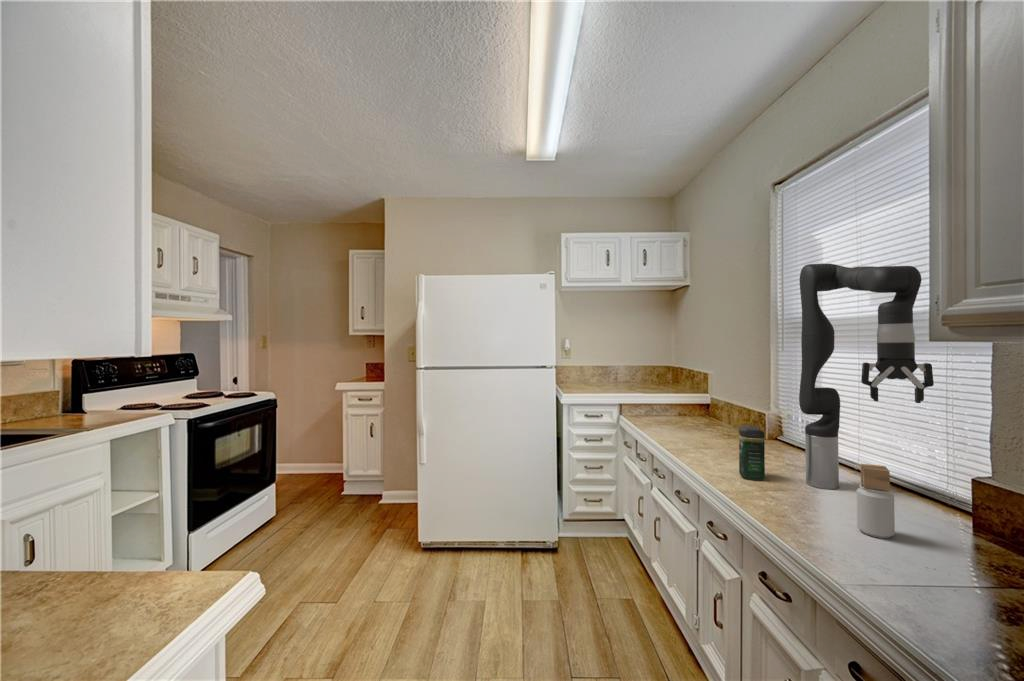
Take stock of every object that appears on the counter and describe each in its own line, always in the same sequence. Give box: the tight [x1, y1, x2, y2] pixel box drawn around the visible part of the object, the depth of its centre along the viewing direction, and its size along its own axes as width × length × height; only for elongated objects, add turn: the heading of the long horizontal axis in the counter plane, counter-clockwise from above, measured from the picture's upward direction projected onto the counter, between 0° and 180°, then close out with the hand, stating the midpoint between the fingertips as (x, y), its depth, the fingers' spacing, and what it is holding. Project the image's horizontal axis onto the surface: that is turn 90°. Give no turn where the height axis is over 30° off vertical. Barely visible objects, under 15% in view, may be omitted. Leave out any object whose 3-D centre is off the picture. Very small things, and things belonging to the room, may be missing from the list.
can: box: [856, 483, 896, 539], centre depth 112 cm, size 8×8×12 cm
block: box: [860, 463, 891, 492], centre depth 112 cm, size 5×5×5 cm
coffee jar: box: [738, 424, 766, 481], centre depth 159 cm, size 10×8×19 cm
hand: (896, 401), depth 116 cm, fingers open, 8 cm apart
